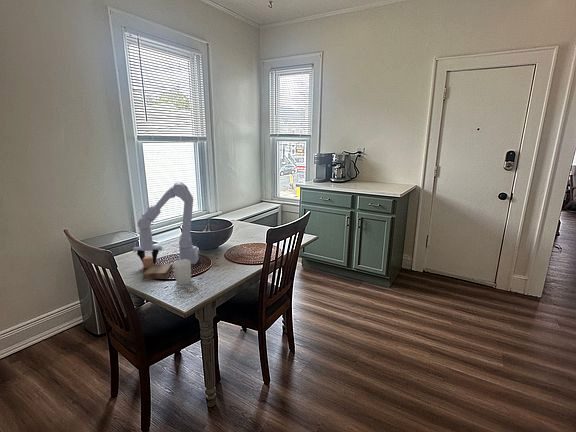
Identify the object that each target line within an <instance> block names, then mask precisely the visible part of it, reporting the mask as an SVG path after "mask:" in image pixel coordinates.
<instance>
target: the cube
mask: <svg viewBox="0 0 576 432" xmlns="http://www.w3.org/2000/svg"><path fill="white" fill-rule="evenodd" d="M142 260H143V263H142V266H143V269H147V268H148V267H149V266H150V265H157V262H156V263H155V264H154V263H153V256H152V254H151V255H145V257H144V258H143V259H142Z"/></svg>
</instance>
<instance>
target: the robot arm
mask: <svg viewBox="0 0 576 432" xmlns="http://www.w3.org/2000/svg"><path fill="white" fill-rule="evenodd" d="M175 197H178V198H179V199H181V200H182V201H183V215H182V225H181V234H180V235H179V242H178V245H179V246H178V250H179V260H184V259H186V260H190V261H191V265H196V264H197V263H198V261H199V259H200V258H199V251H198V250H199V249H198V246H196V245H193V243H192V235H191V230H192V218H193V217H192V216H193V207H194V197H193V195H192V193H191V191H190V190H189V188H188V186H187V185H186V184H185V183H184V182H182V181H177V182H175V183H174V184H173V186H171V187H169V188H168V190H166V191H165V193H164V194H163V195H162V196H161V198H160V199H159V200H158V201H157V203H155V205H151V206H148V207H147V209H146V211H145V212H144V214H142V215H141V217H140V218H139V220H138V221H137V227H138V229H139V238H140V245H141V246H134V247H133V248H132V252H134V253H135V252H136V255H137V256H138V257H139V259H140V260H141V263H142V264H143V260H142V259H143V258H144V257H145V256H146V252H149V251H150V252H151V255H152V256H153V263H154V264H155V263H156V264H157V257H158V254H159V252H161V251H162V250H163V246H162V245H154V241H153V233H152V228H151V223H153V222H155V220H156V219H157V218H158V216H159V215H160V214H161V213H162V212H161V209H162V208H163V207H164V206H165V204H167V202H169V200H170V199H173V198H175Z"/></svg>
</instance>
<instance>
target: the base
mask: <svg viewBox="0 0 576 432" xmlns="http://www.w3.org/2000/svg"><path fill="white" fill-rule="evenodd" d="M172 269H173V270H174V267H173V263H165V264H161V263H160V264H156V265H150V266H149V267H148V268H146V269H145V271H144V272H142V277H143V280H159V279H160V280H163V279H164V280H165V279H168V277H169V275H170V274H171V273H170V272H172V271H173V270H172Z"/></svg>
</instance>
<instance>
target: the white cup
mask: <svg viewBox="0 0 576 432" xmlns="http://www.w3.org/2000/svg"><path fill="white" fill-rule="evenodd" d="M172 267H173V271H174V277H175V282H176V284H177V285H179V286H183V285H188V284H190V283H191V282H192V264H191V261H190V260H186V259H184V260H180V259H178V260H176V261H174V262H172Z"/></svg>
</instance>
